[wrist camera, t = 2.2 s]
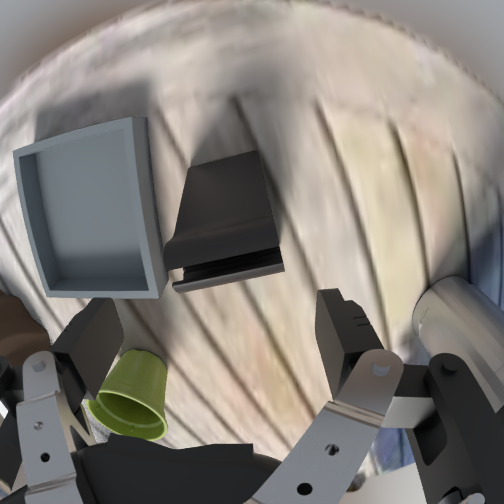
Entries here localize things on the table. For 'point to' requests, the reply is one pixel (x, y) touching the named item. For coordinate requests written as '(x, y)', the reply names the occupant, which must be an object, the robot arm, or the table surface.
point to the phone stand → (224, 226)
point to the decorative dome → (19, 331)
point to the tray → (93, 212)
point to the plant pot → (133, 397)
